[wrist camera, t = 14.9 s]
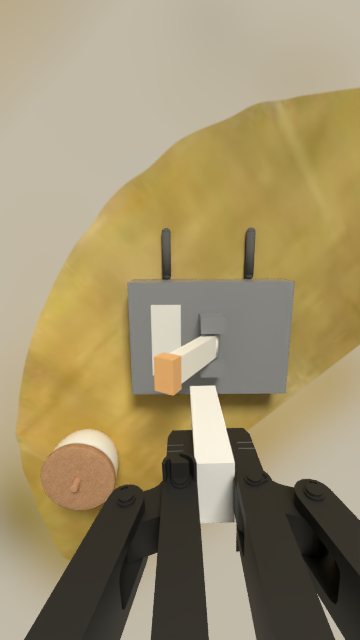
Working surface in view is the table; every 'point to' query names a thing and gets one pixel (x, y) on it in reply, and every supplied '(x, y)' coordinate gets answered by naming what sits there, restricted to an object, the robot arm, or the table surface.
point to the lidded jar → (81, 470)
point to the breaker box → (213, 331)
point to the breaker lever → (183, 363)
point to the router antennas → (248, 260)
